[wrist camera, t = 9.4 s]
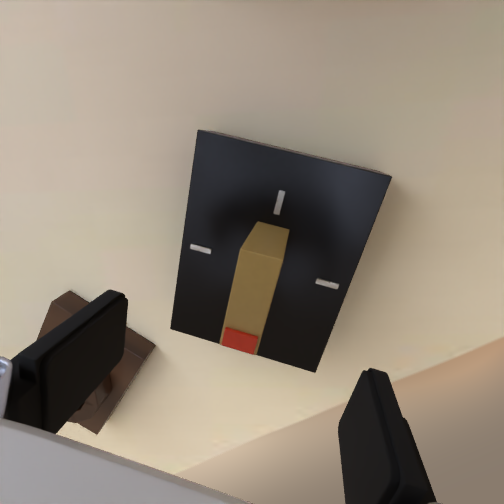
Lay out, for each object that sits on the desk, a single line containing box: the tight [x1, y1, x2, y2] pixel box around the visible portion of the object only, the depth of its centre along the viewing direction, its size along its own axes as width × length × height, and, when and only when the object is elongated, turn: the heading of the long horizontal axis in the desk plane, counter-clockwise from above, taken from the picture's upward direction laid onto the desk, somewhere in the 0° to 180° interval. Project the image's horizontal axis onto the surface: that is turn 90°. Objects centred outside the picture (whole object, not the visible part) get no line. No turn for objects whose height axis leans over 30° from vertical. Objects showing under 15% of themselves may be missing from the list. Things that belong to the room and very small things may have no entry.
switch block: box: [36, 291, 155, 435], centre depth 27 cm, size 12×9×4 cm
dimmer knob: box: [220, 221, 289, 355], centre depth 16 cm, size 6×2×5 cm, turn 167°
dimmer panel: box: [170, 130, 392, 373], centre depth 20 cm, size 14×11×3 cm
